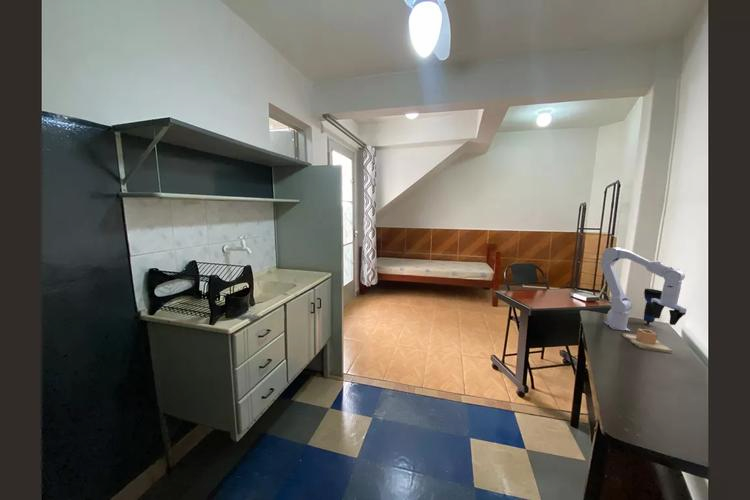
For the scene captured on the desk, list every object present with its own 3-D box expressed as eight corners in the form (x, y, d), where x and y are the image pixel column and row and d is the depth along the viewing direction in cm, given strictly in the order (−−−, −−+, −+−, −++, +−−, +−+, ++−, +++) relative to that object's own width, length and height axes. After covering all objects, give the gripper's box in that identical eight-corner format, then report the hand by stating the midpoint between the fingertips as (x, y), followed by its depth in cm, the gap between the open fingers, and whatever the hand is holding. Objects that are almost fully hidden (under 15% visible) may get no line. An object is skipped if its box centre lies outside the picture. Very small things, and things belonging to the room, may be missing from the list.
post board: (622, 335, 141) (624, 324, 141) (651, 339, 138) (653, 328, 137) (639, 348, 128) (642, 336, 127) (671, 353, 125) (674, 341, 124)
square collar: (635, 338, 136) (637, 328, 135) (648, 339, 135) (650, 330, 134) (642, 342, 131) (644, 332, 131) (655, 344, 130) (657, 334, 129)
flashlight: (651, 322, 160) (658, 289, 157) (661, 328, 152) (668, 293, 149) (634, 320, 162) (641, 287, 159) (643, 326, 154) (650, 291, 151)
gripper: (647, 289, 140) (642, 315, 142) (677, 299, 126) (671, 327, 128) (661, 290, 140) (656, 315, 142) (693, 299, 125) (686, 328, 128)
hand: (664, 321), depth 135 cm, fingers open, 7 cm apart
